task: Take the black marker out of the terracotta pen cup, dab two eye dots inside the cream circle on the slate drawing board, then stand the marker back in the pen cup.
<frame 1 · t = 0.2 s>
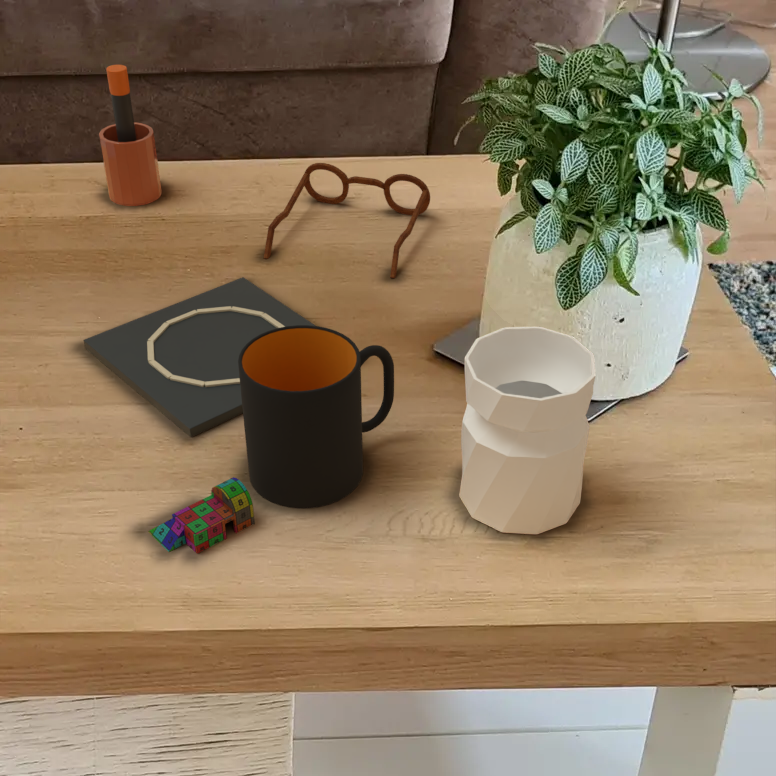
mug: (327, 467, 87), on the table
pen cup: (136, 197, 120), on the table
block: (202, 533, 81), on the table
marker: (135, 193, 119), resting on pen cup
vase: (518, 501, 84), on the table
board: (220, 357, 97), on the table
glasses: (348, 241, 114), on the table
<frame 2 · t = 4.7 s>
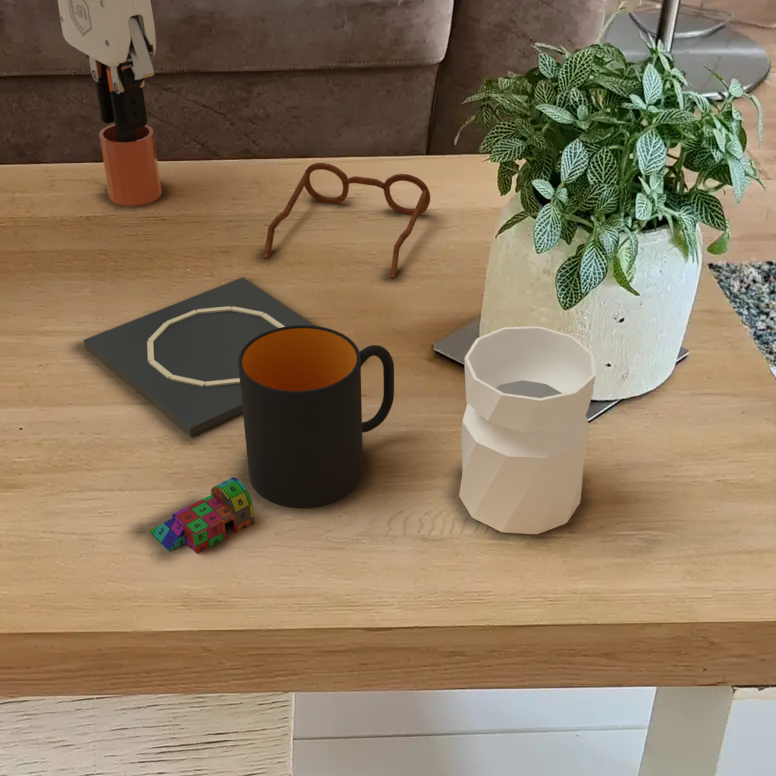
hand: (124, 122, 115), 8 cm above the table, tool pointing down, fingers closed on marker, 2 cm apart
marker: (135, 193, 119), point 1 cm above the table, touching gripper, pen cup
everything else where it was.
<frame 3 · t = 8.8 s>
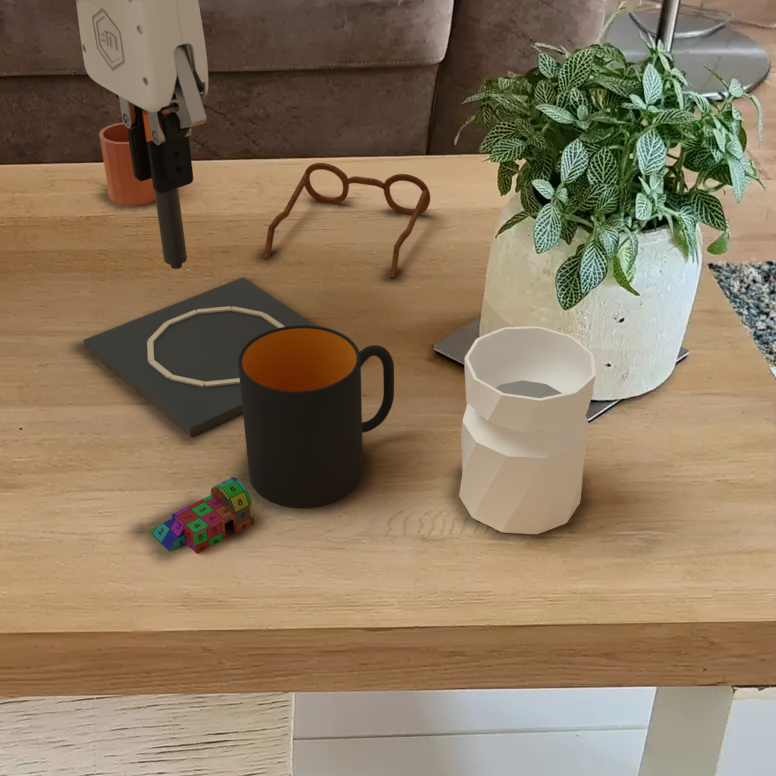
hand: (164, 179, 89), 15 cm above the table, tool pointing down, fingers closed on marker
marker: (176, 266, 94), point 8 cm above the table, touching gripper
everything else where it was.
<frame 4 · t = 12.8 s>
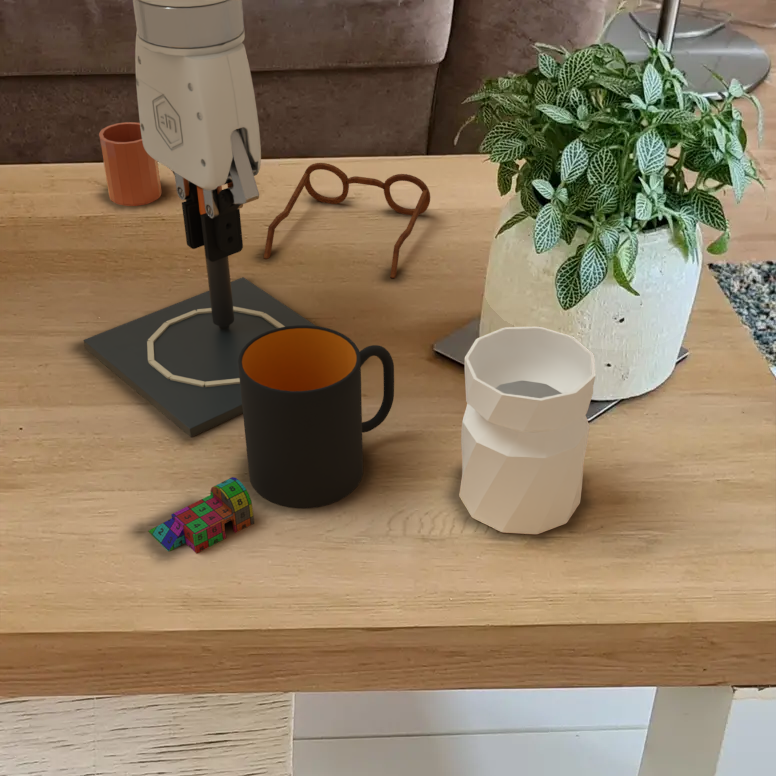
hand: (215, 247, 94), 9 cm above the table, tool pointing down, fingers closed on marker, 2 cm apart
marker: (224, 326, 98), point 1 cm above the table, touching gripper
everything else where it was.
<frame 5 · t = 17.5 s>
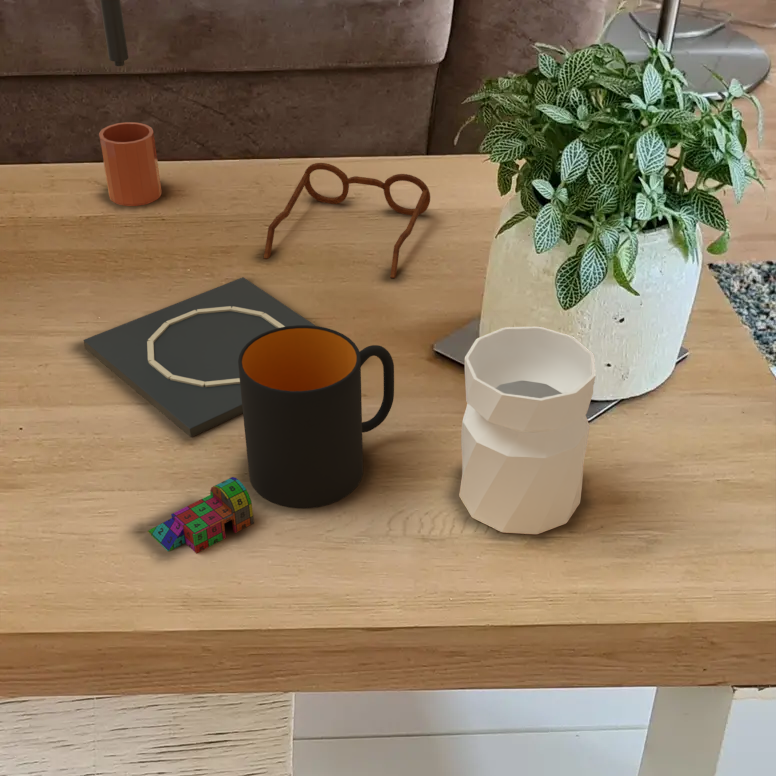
marker: (119, 64, 110), point 14 cm above the table, touching gripper
everything else where it was.
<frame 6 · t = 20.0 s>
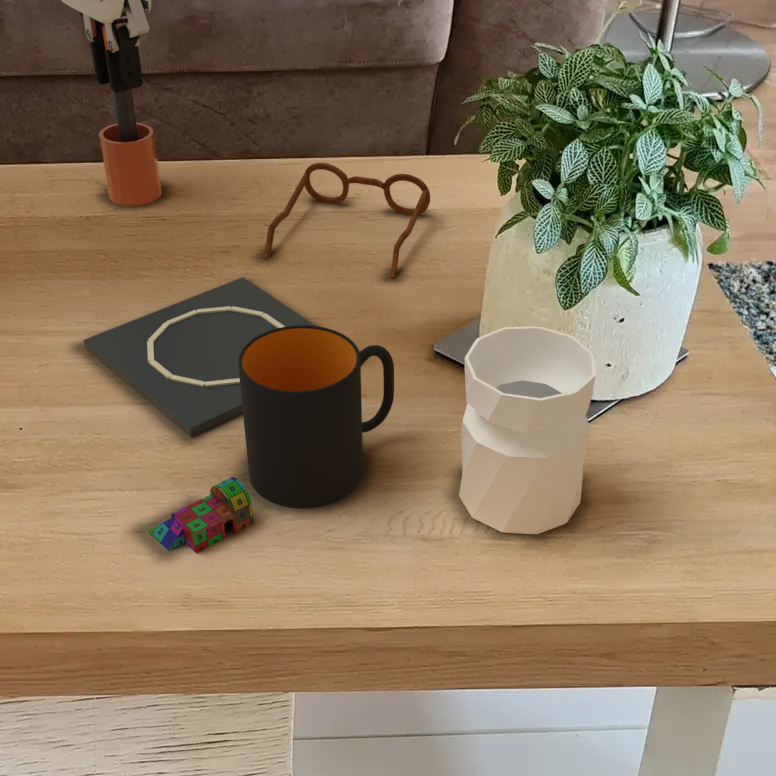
hand: (120, 83, 112), 12 cm above the table, tool pointing down, fingers closed on marker
marker: (131, 156, 117), point 4 cm above the table, touching gripper
everything else where it was.
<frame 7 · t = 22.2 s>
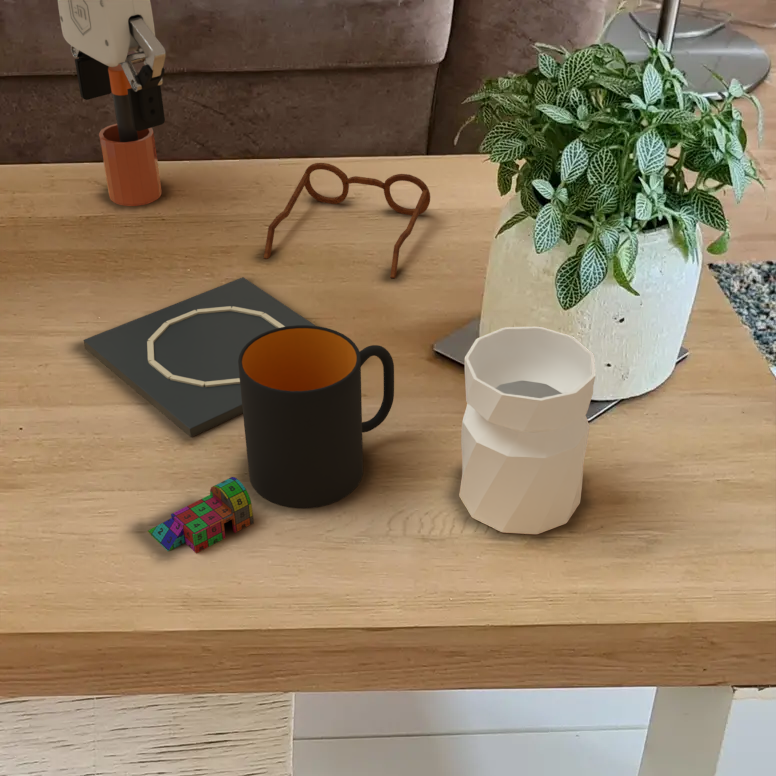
hand: (122, 111, 114), 9 cm above the table, tool pointing down, fingers open, 9 cm apart
marker: (136, 192, 119), resting on pen cup
everything else where it was.
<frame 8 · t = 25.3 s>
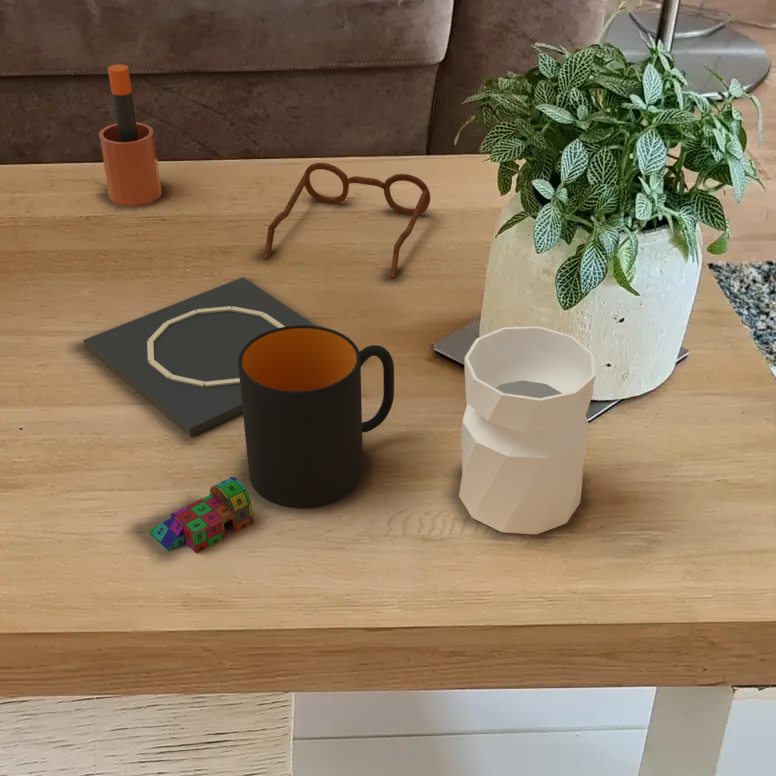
nothing on the table moved.
at the end: marker 0.2 cm off-centre in the pen cup, point 0.5 cm above the pen cup's base; marker tilted 0°; marker touching pen cup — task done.
